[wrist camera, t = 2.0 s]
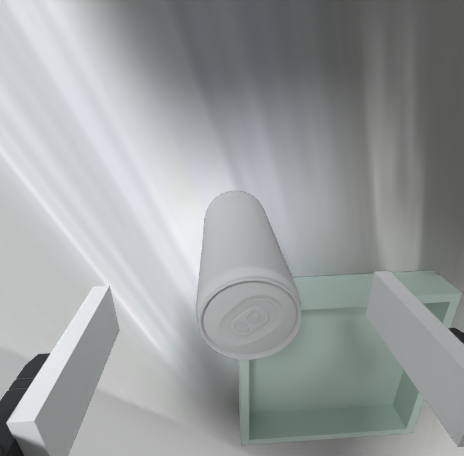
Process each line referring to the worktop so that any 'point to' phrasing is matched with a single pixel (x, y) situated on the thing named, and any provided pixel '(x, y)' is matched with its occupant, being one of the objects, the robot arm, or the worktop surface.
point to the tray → (337, 366)
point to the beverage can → (244, 282)
